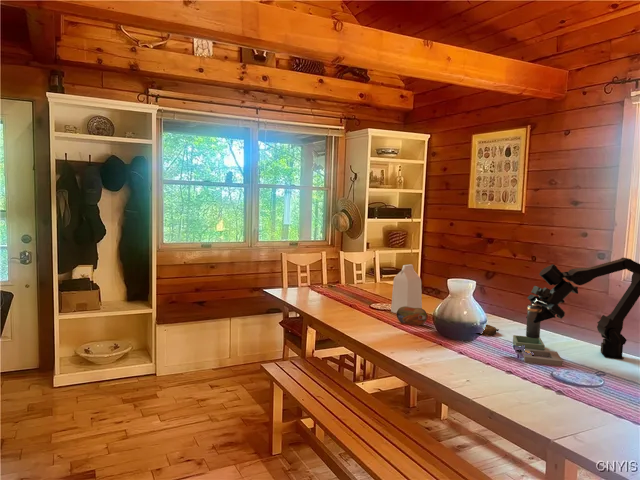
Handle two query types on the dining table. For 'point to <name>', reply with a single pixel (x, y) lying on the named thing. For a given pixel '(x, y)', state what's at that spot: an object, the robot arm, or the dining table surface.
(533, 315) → the battery cell
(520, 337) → the cup
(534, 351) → the tester cradle
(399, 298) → the milk
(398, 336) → the dining table surface
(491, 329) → the decorative rock
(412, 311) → the tin
